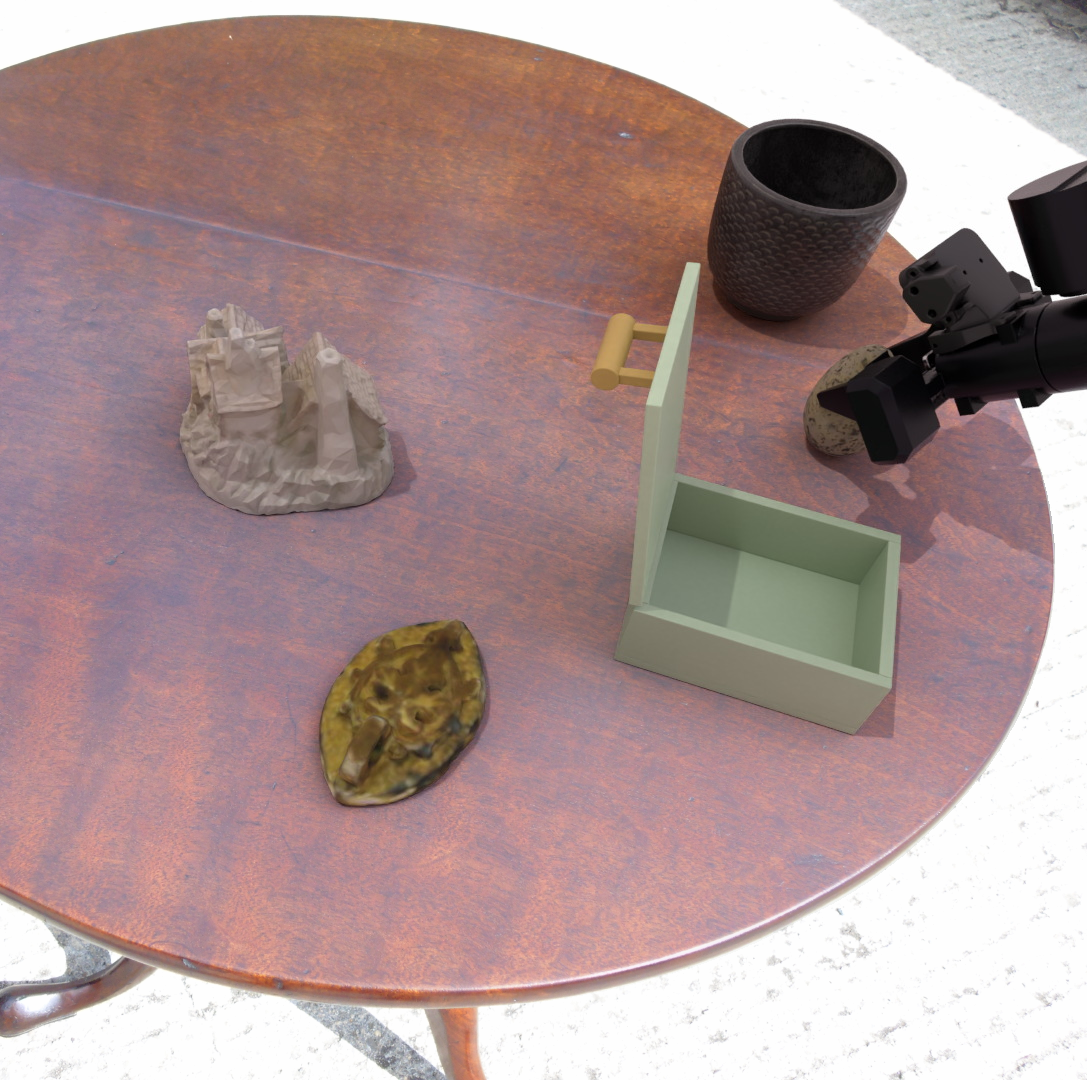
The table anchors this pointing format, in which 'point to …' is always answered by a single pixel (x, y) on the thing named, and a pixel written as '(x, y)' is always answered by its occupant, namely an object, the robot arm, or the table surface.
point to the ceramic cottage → (281, 421)
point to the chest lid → (652, 411)
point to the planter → (800, 215)
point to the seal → (401, 712)
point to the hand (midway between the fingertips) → (842, 382)
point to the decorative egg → (830, 427)
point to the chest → (768, 605)
